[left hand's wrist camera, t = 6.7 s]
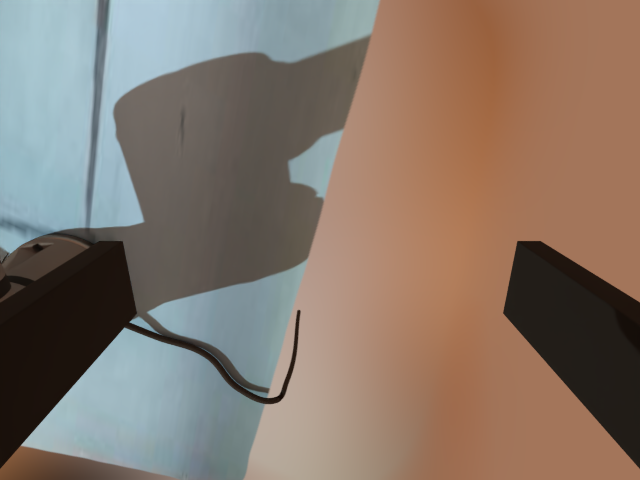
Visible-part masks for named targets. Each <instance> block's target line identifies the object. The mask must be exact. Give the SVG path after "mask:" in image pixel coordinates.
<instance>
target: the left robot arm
mask: <svg viewBox="0 0 640 480" xmlns="http://www.w3.org/2000/svg"><path fill="white" fill-rule="evenodd" d="M7 255H8V254H7ZM7 255H6V256H5V258H4V259H3V261H2V263H1V261H0V468H1V467H2V466H3V465H4V464H5V463H6V462H7V460H8V459H9V458H10V457H11V456H12V455H13V454H14V452H15V451H16V450H17V449H18V448H19V447H20V446H21V444H22V443H23V442H24V441H25V440H26V439H27V438H28V437H29V435H30V434H31V433H32V432H33V431H34V430H35V429H36V427H37V426H38V425H39V424H40V423H41V422H42V421H43V419H44V418H45V417H46V416H47V415H48V414H49V413H50V411H51V410H52V409H53V408H54V407H55V406H56V405H57V404H58V402H59V401H60V400H61V399H62V398H63V397H64V396H65V394H66V393H67V392H68V391H69V390H70V389H71V388H72V386H73V385H74V384H75V383H76V382H77V381H78V380H79V378H80V377H81V376H82V375H83V374H84V373H85V372H86V371H87V369H88V368H89V367H90V366H91V365H92V364H93V363H94V361H95V360H96V359H97V358H98V357H99V356H100V355H101V353H102V352H103V351H104V350H105V349H106V348H107V347H108V346H109V344H110V343H111V342H112V341H113V340H114V339H115V338H116V336H117V335H118V334H119V333H120V332H121V331H122V330H123V328H124V327H125V328H127V329H130V330H132V331H135V332H137V333H140V334H142V335H145V336H148V337H150V338H153V339H155V340H158V341H161V342H164V343H168V344H171V345H175V346H179V347H182V348H185V349H188V350H191V351H194V352H196V353H198V354H200V355H201V356H203V357H205V358H206V359H208V360H209V361H210V362H211V363H212V364H213V365H214V366H215V367H216V369H217V370H218V371H219V373H220V374H221V375H222V377H223V378H224V379H225V381H226V382H227V383H228V384H229V385H230V386H231V387H232V388H234V389H235V390H237V391H238V392H240V393H241V394H243V395H244V396H246V397H248V398H250V399H252V400H254V401H256V402H259V403H263V404H274V403H278V402H280V401H281V400H282V399H283V398H284V396H285V394H286V391H287V387H288V384H289V381H290V379H291V376H292V373H293V369H294V365H295V361H296V356H297V348H298V335H299V321H300V314H301V311H300V310H297V315H296V323H295V335H294V346H293V353H292V358H291V362H290V366H289V369H288V372H287V375H286V378H285V380H284V383H283V386H282V390H281V392H280V394H279V395H278V396H277V397H274V398H263V397H260V396H257V395H255V394H253V393H251V392H249V391H248V390H246V389H244V388H243V387H241V386H240V385H238V384H237V383H236V382H235V381H234V380H233V379H232V378H231V377H230V376H229V375H228V373H227V372H226V371H225V369H224V368H223V366H222V365H221V364H220V363H219V361H218V360H217V359H216V358H215V357H213V356H212V355H211V354H210V353H208V352H207V351H205V350H203V349H201V348H199V347H197V346H195V345H192V344H190V343H186V342H183V341H180V340H176V339H172V338H169V337H165V336H162V335H160V334H157V333H154V332H152V331H149V330H147V329H144V328H142V327H139V326H137V325H134V324H132V323H129V322H130V320H131V319H132V318H133V317H134V316H135V315H136V314H137V312H136V307H135V302H134V297H133V291H132V286H131V281H130V276H129V271H128V266H127V261H126V256H125V251H124V246H123V241H99V242H97V243H96V244H92V243H90V242H88V241H86V240H84V239H81V238H78V237H74V236H70V235H63V234H51V235H44V236H41V237H38V238H35V239H33V240H31V241H29V242H27V243H25V244H23V245H21V246H20V247H18V248H17V249H16V250H15V251H13V252H12V253H11V254H10V255H9V257H8V258H7V259H6V257H7ZM5 259H6V260H5ZM4 260H5V261H4ZM503 314H504V315H505V316H506V317H507V318H508V319H509V320H510V322H511V323H512V324H513V325H514V326H515V327H516V328H517V330H518V331H519V332H520V333H521V334H522V335H523V336H524V338H525V339H526V340H527V341H528V342H529V343H530V344H531V345H532V347H533V348H534V349H535V350H536V351H537V352H538V353H539V355H540V356H541V357H542V358H543V359H544V360H545V361H546V363H547V364H548V365H549V366H550V367H551V368H552V369H553V371H554V372H555V373H556V374H557V375H558V376H559V377H560V378H561V380H562V381H563V382H564V383H565V384H566V385H567V386H568V388H569V389H570V390H571V391H572V392H573V393H574V394H575V396H576V397H577V398H578V399H579V400H580V401H581V402H582V403H583V405H584V406H585V407H586V408H587V409H588V410H589V411H590V413H591V414H592V415H593V416H594V417H595V418H596V419H597V421H598V422H599V423H600V424H601V425H602V426H603V427H604V429H605V430H606V431H607V432H608V433H609V434H610V435H611V437H612V438H613V439H614V440H615V441H616V442H617V443H618V444H619V446H620V447H621V448H622V449H623V450H624V451H625V452H626V454H627V455H628V456H629V457H630V458H631V459H632V460H633V461H634V463H635V464H636V465H637V466H638V467H639V468H640V302H638V301H637V300H635V299H633V298H632V297H630V296H629V295H627V294H625V293H624V292H622V291H620V290H619V289H617V288H616V287H614V286H612V285H611V284H609V283H607V282H606V281H604V280H603V279H601V278H599V277H598V276H596V275H595V274H593V273H591V272H590V271H588V270H586V269H585V268H583V267H582V266H580V265H578V264H577V263H575V262H573V261H572V260H570V259H569V258H567V257H565V256H564V255H562V254H561V253H559V252H557V251H556V250H554V249H552V248H551V247H549V246H548V245H546V244H544V243H543V242H541V241H518V242H517V246H516V251H515V256H514V261H513V266H512V271H511V276H510V281H509V286H508V291H507V297H506V302H505V307H504V312H503Z"/></svg>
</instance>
